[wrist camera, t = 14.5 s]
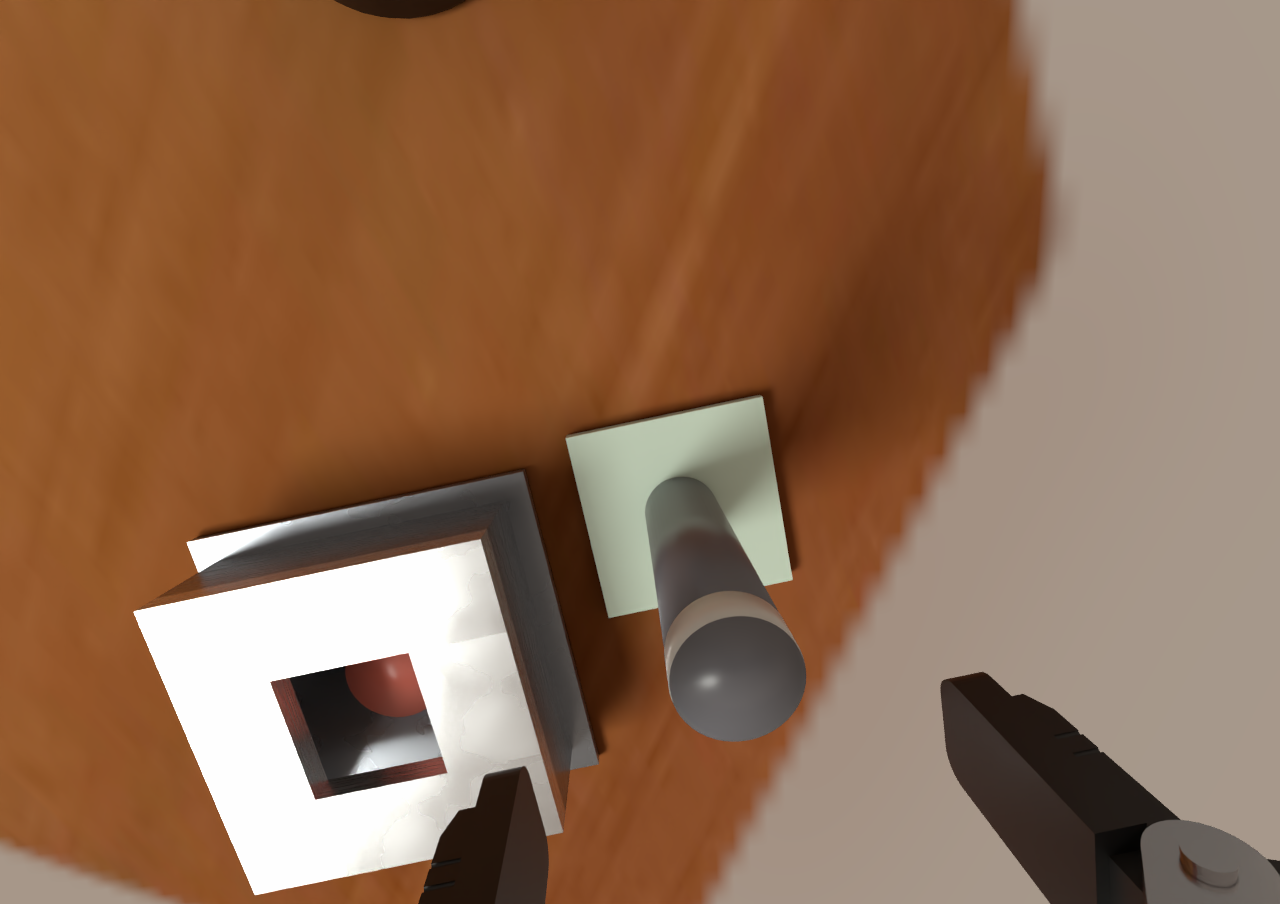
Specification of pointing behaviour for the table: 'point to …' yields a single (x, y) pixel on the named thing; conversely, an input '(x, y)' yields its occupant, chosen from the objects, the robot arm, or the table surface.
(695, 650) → the peg
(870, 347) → the table surface
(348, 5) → the mug
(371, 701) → the button
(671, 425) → the pad
